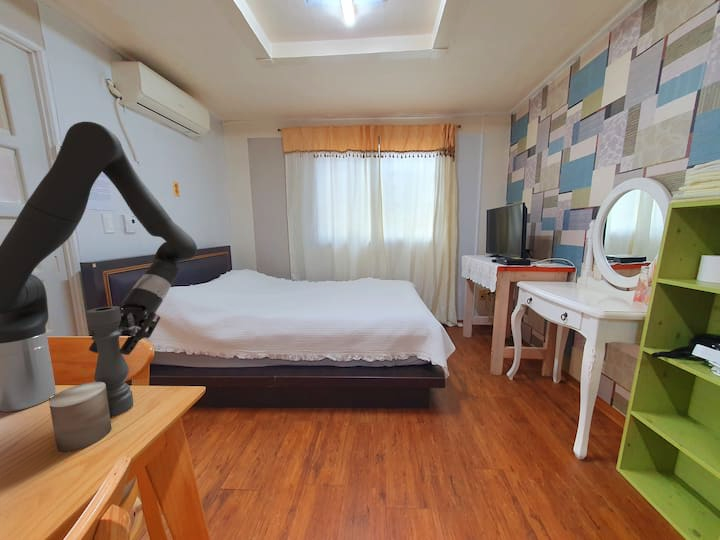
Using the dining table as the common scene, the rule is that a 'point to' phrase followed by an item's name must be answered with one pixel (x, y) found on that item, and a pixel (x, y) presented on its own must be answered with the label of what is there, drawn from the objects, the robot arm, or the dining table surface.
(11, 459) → the dining table surface
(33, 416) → the dining table surface
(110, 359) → the candle holder
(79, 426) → the gray cylinder
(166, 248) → the robot arm
